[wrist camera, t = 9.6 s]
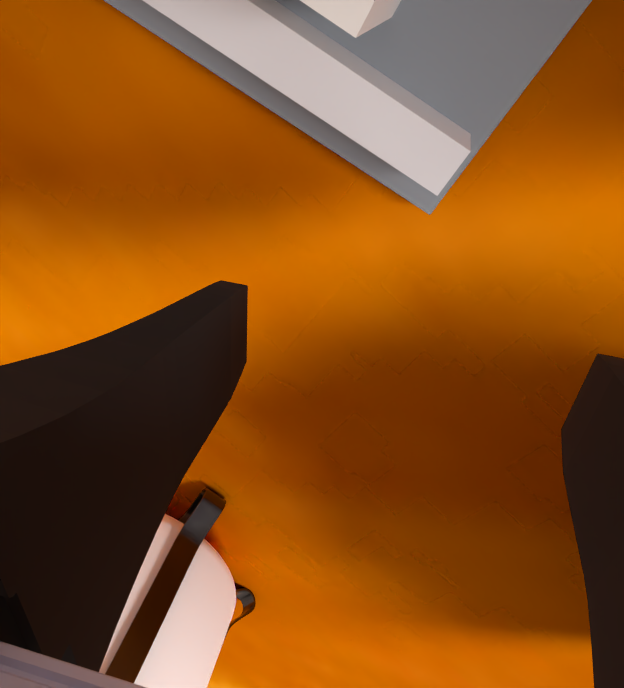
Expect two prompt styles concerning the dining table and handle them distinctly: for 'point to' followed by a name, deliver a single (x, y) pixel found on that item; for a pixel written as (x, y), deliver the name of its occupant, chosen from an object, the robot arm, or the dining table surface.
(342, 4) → the block
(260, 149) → the dining table surface
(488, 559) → the dining table surface
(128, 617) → the coffee press
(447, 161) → the rail plate
